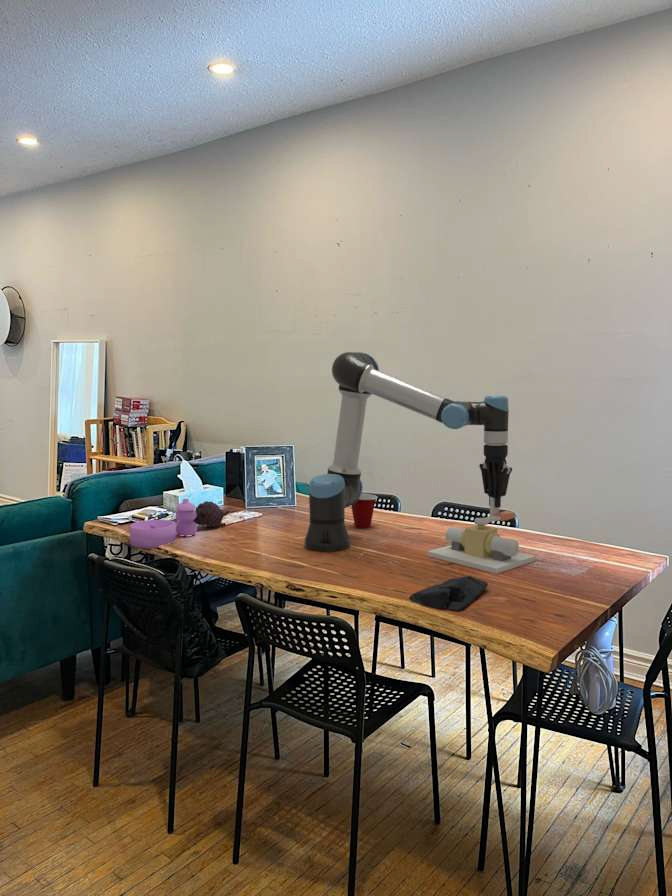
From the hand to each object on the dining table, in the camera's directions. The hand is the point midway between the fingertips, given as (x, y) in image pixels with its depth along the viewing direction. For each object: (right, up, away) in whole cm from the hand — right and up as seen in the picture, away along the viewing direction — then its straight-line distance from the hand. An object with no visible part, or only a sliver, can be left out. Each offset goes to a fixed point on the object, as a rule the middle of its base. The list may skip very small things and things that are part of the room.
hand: (494, 516), depth 225 cm
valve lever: (-1, -1, -5) cm, 5 cm away
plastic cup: (-41, -8, +37) cm, 56 cm away
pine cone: (-99, -8, +36) cm, 106 cm away
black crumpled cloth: (-21, -17, -43) cm, 51 cm away
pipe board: (-6, -12, -8) cm, 16 cm away
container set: (-111, -10, +18) cm, 113 cm away
